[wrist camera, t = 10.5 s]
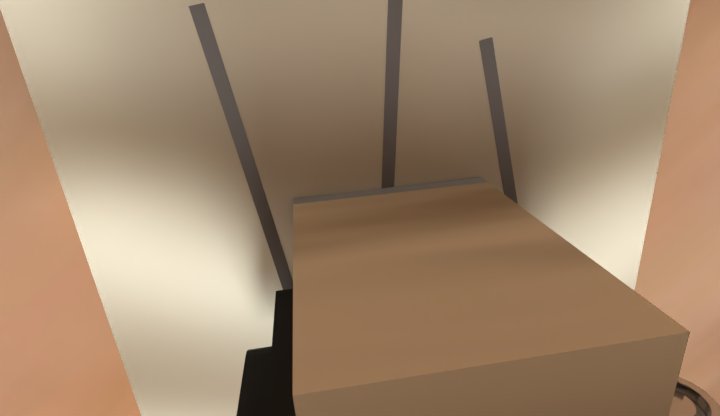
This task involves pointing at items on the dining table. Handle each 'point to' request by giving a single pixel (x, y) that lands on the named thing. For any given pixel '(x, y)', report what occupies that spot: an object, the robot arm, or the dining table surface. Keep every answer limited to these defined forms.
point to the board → (324, 142)
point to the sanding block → (465, 312)
